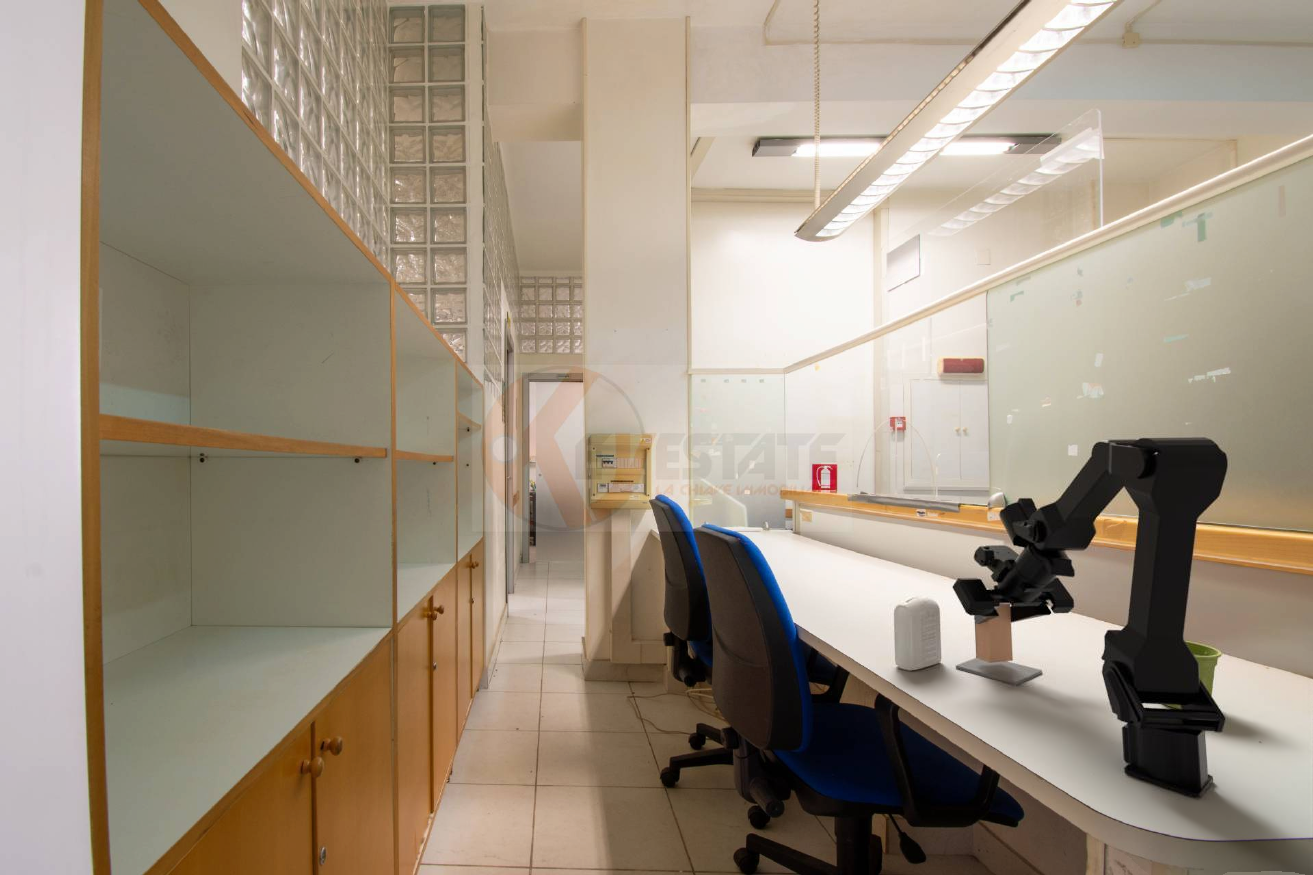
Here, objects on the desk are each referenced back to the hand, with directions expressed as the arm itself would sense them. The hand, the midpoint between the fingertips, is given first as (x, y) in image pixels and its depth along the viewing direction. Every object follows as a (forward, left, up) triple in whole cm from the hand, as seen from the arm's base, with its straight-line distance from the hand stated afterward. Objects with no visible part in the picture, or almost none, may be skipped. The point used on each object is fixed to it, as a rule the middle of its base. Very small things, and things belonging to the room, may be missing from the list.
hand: (991, 621), depth 102 cm
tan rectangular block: (0, 0, -7) cm, 7 cm away
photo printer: (+9, +9, -9) cm, 15 cm away
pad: (-1, +1, -8) cm, 8 cm away
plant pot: (-24, -6, -9) cm, 26 cm away
